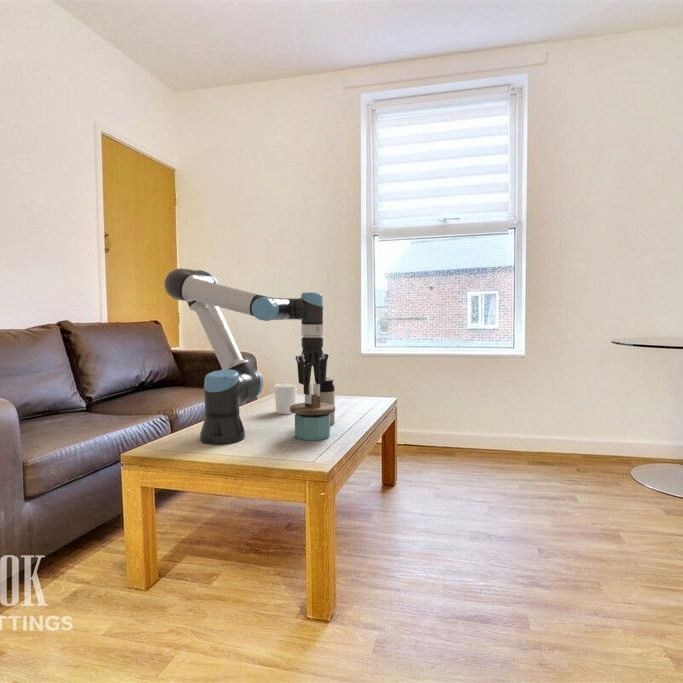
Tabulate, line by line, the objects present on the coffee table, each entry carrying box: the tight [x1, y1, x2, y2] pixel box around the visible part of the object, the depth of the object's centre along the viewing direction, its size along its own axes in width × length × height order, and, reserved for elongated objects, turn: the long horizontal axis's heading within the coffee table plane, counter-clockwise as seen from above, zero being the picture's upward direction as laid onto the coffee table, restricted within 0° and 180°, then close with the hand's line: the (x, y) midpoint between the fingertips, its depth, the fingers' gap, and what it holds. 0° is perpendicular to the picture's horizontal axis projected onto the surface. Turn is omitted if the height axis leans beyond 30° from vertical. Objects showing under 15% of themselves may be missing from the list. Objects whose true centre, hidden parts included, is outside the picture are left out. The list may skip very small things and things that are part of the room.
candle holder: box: [274, 382, 298, 415], centre depth 206 cm, size 10×10×12 cm
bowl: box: [294, 413, 331, 442], centre depth 167 cm, size 12×12×8 cm
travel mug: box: [320, 376, 336, 426], centre depth 185 cm, size 8×8×18 cm
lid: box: [290, 394, 336, 415], centre depth 167 cm, size 16×16×5 cm
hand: (312, 402), depth 167 cm, fingers open, 3 cm apart
